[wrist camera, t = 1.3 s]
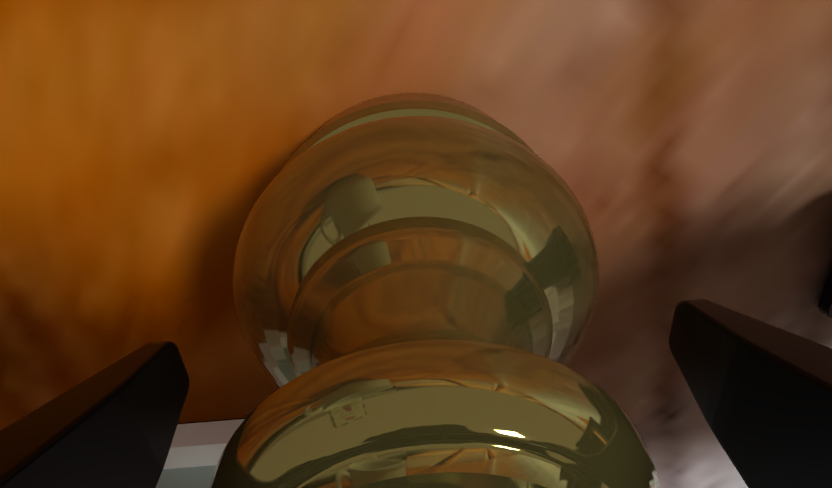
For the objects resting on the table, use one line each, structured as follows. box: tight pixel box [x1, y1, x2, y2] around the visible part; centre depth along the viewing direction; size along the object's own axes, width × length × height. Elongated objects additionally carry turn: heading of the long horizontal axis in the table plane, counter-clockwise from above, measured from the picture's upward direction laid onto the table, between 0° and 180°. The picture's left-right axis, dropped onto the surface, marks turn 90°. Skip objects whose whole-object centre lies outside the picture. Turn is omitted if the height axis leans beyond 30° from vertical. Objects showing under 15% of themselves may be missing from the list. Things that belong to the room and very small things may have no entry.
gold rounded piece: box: [210, 93, 660, 488], centre depth 8 cm, size 7×7×10 cm
